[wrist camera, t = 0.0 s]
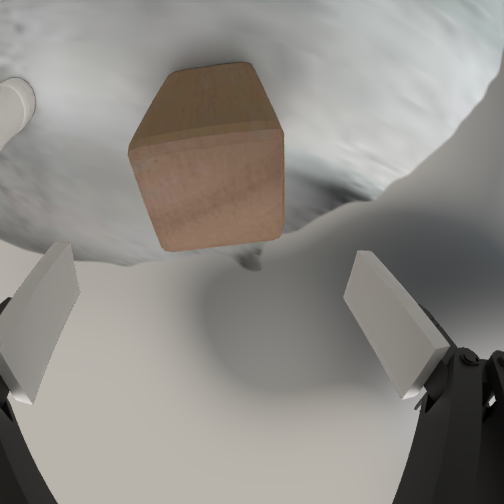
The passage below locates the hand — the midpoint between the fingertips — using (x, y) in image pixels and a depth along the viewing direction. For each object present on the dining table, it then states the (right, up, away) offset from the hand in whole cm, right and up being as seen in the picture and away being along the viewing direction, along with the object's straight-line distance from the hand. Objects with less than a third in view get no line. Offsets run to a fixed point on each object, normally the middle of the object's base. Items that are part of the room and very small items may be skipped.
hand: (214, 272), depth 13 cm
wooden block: (-3, +19, +20) cm, 28 cm away
